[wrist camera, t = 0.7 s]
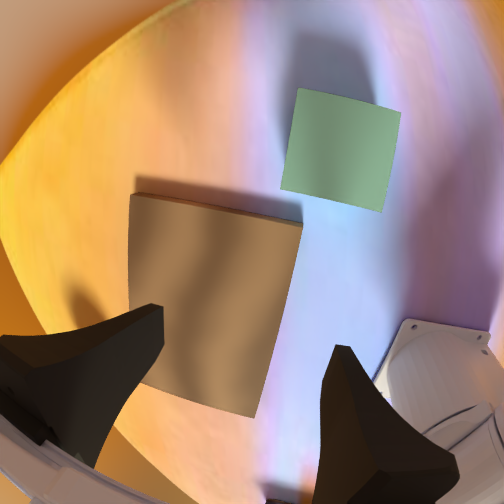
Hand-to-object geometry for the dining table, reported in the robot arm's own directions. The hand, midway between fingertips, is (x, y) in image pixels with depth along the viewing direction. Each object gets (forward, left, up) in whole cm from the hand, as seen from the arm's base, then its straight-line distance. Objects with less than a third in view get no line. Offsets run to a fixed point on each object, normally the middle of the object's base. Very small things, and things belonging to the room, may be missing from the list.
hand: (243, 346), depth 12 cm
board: (+5, +6, -9) cm, 12 cm away
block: (-2, -8, -10) cm, 13 cm away
